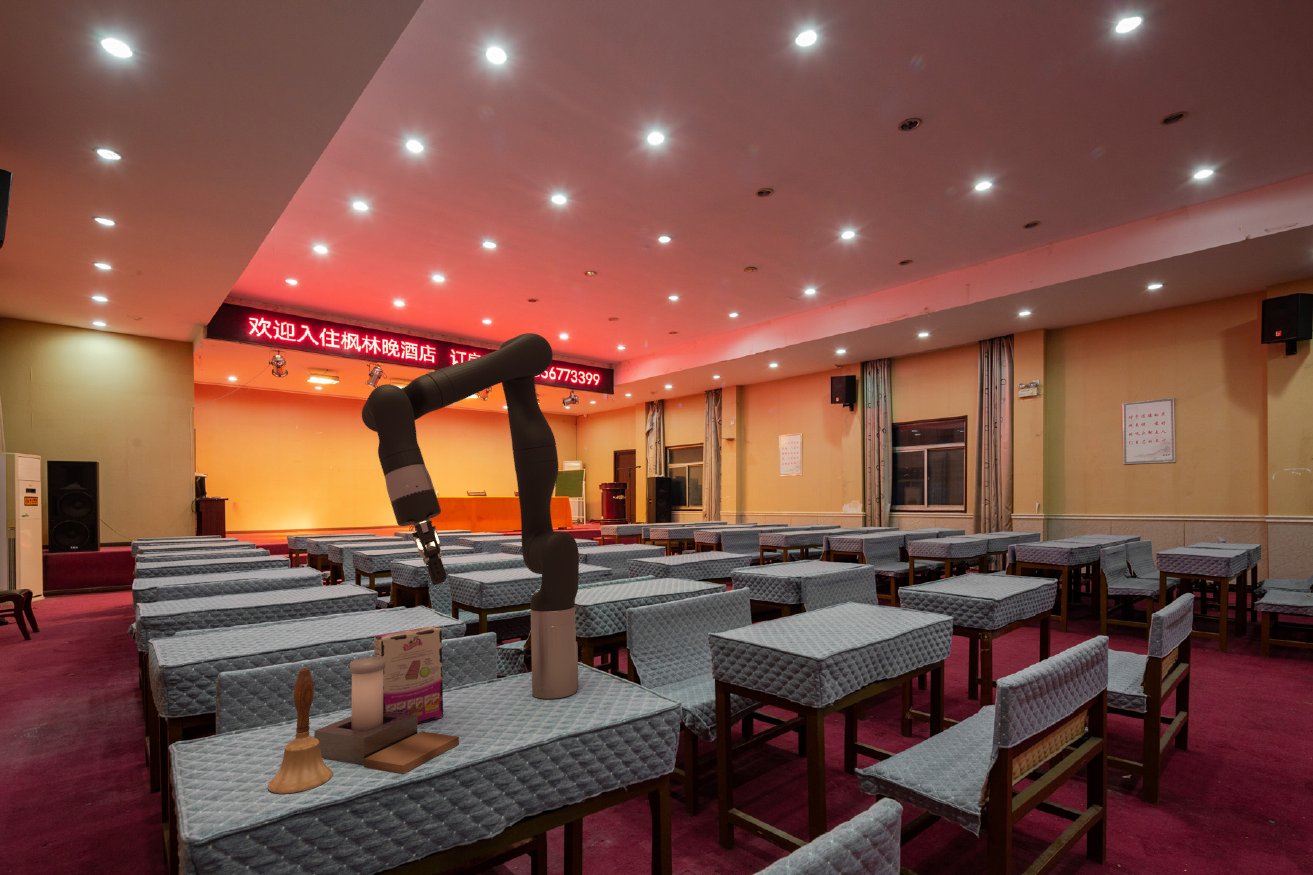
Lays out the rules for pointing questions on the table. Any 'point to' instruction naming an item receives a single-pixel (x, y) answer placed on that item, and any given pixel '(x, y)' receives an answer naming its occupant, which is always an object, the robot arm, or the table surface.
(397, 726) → the housing
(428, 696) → the candy bar box
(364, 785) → the table surface
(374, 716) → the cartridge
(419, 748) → the board
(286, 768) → the hand bell
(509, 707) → the table surface
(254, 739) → the table surface
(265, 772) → the table surface
